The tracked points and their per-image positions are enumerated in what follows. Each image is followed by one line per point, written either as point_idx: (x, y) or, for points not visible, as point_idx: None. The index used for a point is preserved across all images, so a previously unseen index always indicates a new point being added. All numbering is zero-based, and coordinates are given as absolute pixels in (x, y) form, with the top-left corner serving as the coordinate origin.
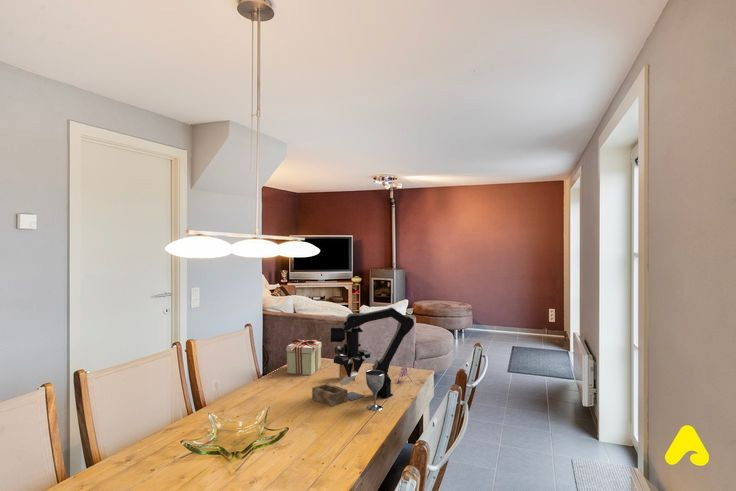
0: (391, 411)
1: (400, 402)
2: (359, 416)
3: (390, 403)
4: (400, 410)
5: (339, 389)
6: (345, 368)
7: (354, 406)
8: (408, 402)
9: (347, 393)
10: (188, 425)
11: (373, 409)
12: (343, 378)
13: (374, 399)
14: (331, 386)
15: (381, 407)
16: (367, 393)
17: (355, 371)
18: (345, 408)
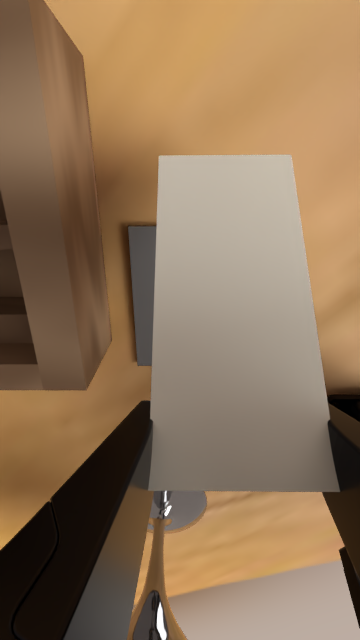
0: (184, 563)
1: (314, 538)
2: (22, 515)
3: (269, 517)
4: (222, 578)
5: (29, 324)
6: (11, 558)
7: (87, 426)
8: (338, 557)
9: None
10: None
11: None
12: (155, 262)
13: (150, 558)
14: (1, 173)
15: (183, 525)
16: (340, 335)
17: (315, 488)
18: (22, 412)
